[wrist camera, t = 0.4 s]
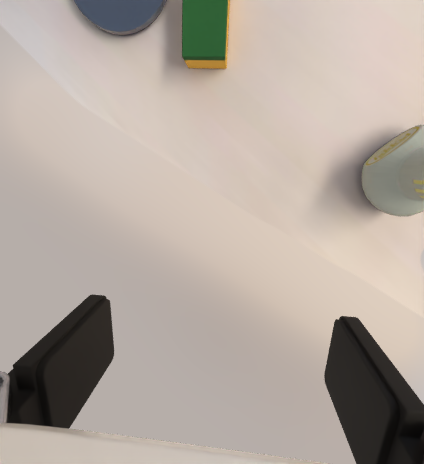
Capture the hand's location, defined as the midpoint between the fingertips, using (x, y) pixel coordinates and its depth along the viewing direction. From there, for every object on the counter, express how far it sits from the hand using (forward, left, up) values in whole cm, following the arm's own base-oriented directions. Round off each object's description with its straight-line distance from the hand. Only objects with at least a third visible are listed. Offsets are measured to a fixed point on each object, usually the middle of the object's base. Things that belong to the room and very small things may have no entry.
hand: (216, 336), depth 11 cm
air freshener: (-6, +22, -29) cm, 37 cm away
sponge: (-22, -4, -29) cm, 37 cm away
